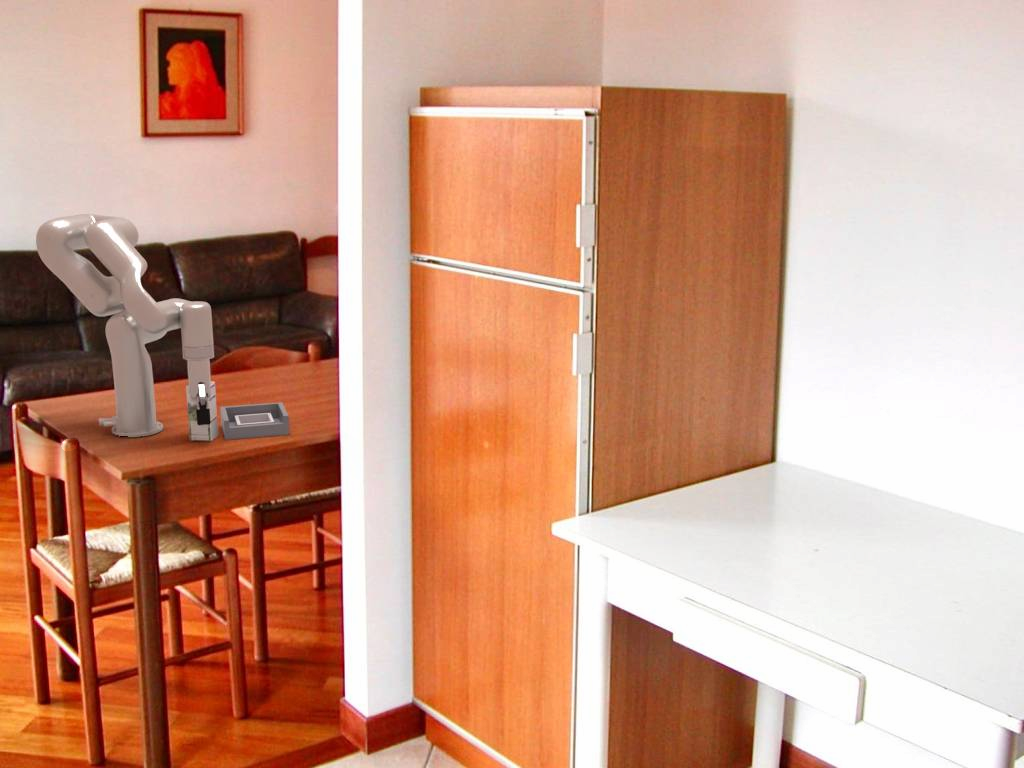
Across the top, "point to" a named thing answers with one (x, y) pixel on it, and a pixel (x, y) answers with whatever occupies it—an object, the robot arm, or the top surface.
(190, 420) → the syrup box
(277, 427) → the walled box
